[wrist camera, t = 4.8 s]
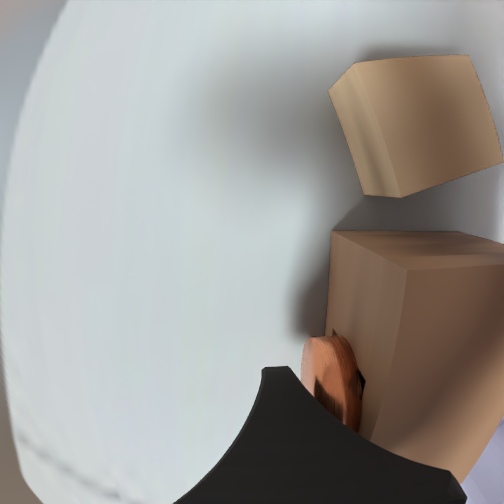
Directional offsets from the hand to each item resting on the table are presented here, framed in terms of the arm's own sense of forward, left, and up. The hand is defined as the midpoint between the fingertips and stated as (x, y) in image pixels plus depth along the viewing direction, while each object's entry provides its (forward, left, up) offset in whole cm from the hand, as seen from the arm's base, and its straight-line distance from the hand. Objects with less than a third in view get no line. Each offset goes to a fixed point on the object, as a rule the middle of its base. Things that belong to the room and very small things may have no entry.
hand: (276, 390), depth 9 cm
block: (-5, -9, -2) cm, 11 cm away
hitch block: (-5, 0, -2) cm, 6 cm away
